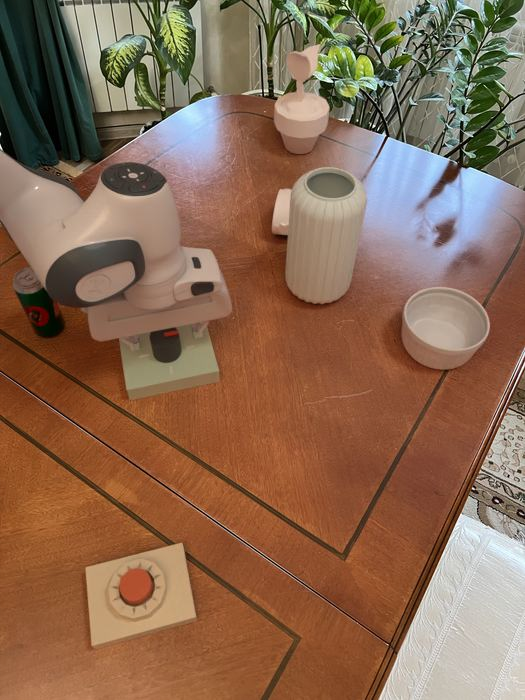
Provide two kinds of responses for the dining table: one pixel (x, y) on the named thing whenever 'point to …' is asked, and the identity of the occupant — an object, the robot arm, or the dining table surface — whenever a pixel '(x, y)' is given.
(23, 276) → the soda can
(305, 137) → the potted plant
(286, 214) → the soap bar
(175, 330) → the knob
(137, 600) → the button
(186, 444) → the dining table surface
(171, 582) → the button box
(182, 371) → the panel
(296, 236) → the vase
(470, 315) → the ramekin
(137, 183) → the robot arm
